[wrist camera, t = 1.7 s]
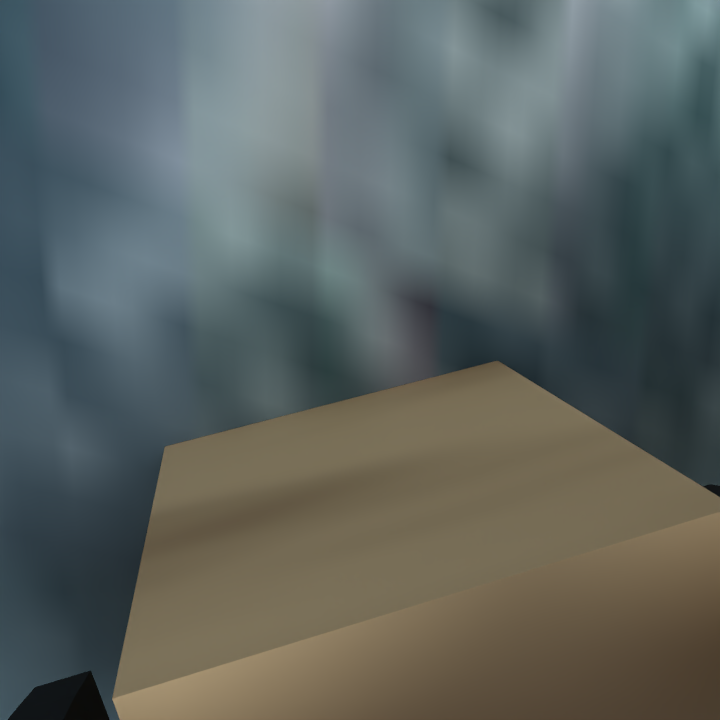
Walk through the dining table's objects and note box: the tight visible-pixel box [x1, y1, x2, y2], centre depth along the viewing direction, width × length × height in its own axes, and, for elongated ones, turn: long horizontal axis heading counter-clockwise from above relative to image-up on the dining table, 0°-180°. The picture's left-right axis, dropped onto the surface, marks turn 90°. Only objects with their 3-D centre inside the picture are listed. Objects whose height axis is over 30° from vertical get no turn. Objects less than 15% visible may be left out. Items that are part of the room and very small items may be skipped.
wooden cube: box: [112, 361, 720, 720], centre depth 8 cm, size 5×5×5 cm
